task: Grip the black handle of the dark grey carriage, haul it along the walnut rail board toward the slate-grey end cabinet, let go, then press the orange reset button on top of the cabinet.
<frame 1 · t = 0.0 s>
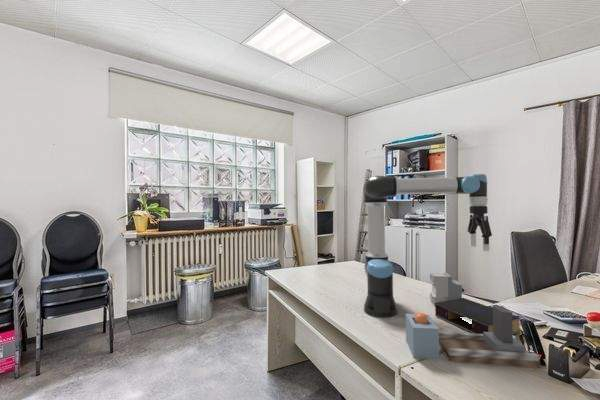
hand: (479, 248, 141), 28 cm above the table, tool pointing down, fingers open, 13 cm apart
circuit breaker: (447, 305, 143), on the table
rail board: (483, 353, 97), on the table
reset button: (421, 321, 100), point 10 cm above the table, slide at 0.0 cm
end cabinet: (421, 349, 100), on the table
book: (474, 325, 120), on the table
carriage: (502, 328, 96), point 9 cm above the table, slide at 6.0 cm
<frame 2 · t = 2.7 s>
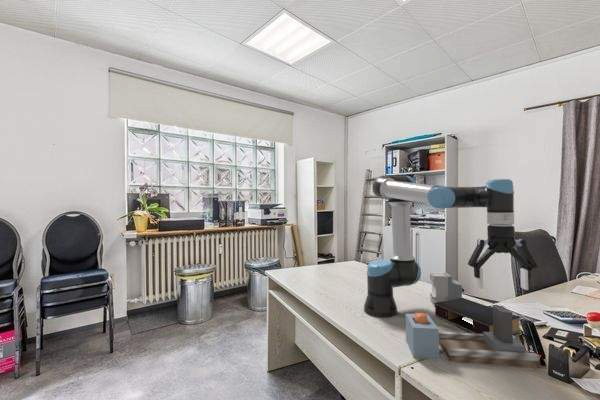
hand: (502, 288, 96), 22 cm above the table, tool pointing down, fingers open, 13 cm apart
nothing on the table moved.
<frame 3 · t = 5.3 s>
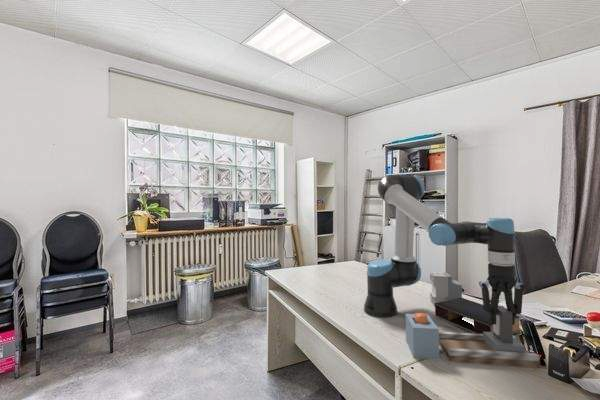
hand: (502, 333, 96), 7 cm above the table, tool pointing down, fingers closed on carriage, 3 cm apart
carriage: (502, 328, 96), point 9 cm above the table, slide at 6.0 cm, touching gripper
everything else where it was.
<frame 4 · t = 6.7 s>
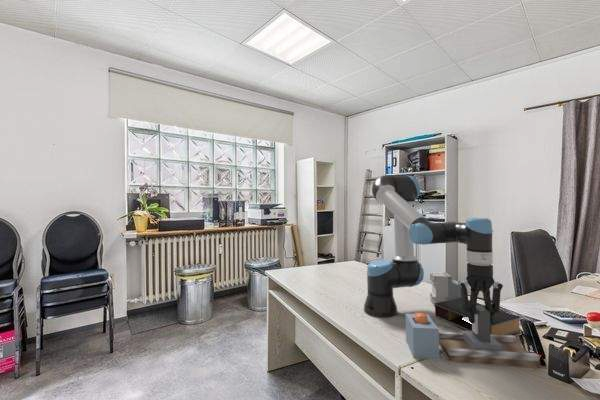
hand: (481, 332, 97), 7 cm above the table, tool pointing down, fingers closed on carriage, 3 cm apart
carriage: (481, 327, 97), point 9 cm above the table, slide at -0.7 cm, touching gripper
everything else where it was.
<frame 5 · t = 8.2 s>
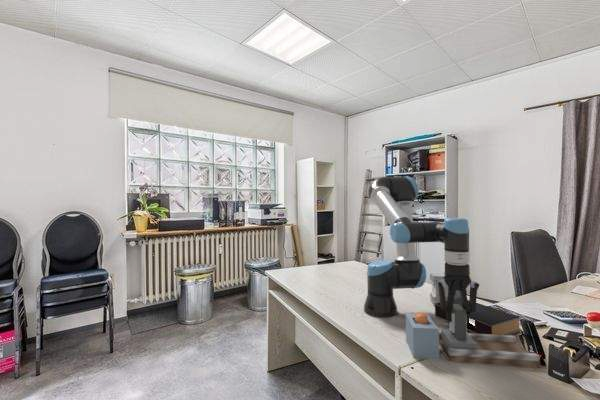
hand: (458, 331, 98), 7 cm above the table, tool pointing down, fingers closed on carriage, 3 cm apart
carriage: (458, 326, 98), point 9 cm above the table, slide at -7.9 cm, touching gripper
everything else where it was.
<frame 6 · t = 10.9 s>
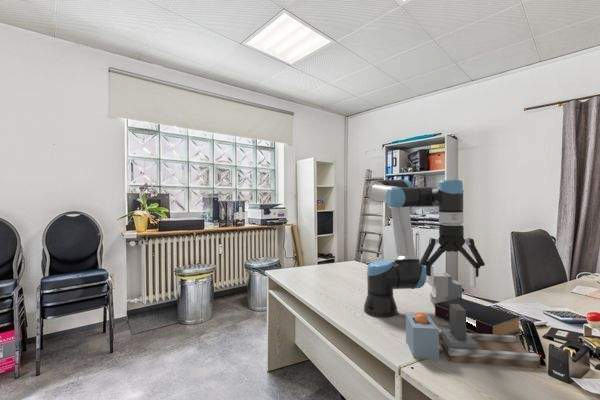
hand: (451, 285, 99), 22 cm above the table, tool pointing down, fingers open, 13 cm apart
carriage: (457, 326, 98), point 9 cm above the table, slide at -8.0 cm
everything else where it was.
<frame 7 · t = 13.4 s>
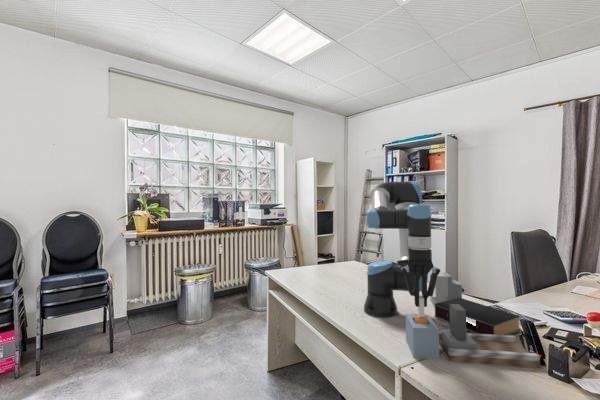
hand: (421, 315, 100), 12 cm above the table, tool pointing down, fingers closed
reset button: (421, 322, 100), point 9 cm above the table, slide at 0.4 cm, touching gripper
everything else where it was.
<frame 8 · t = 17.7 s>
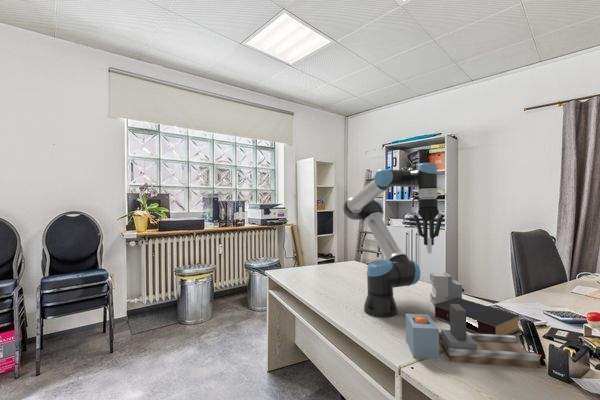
hand: (428, 252, 125), 29 cm above the table, tool pointing down, fingers closed
reset button: (421, 323, 100), point 9 cm above the table, slide at 1.0 cm
at the end: carriage slide at -8.0 cm; reset button slide at 1.0 cm; the gripper is holding nothing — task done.
